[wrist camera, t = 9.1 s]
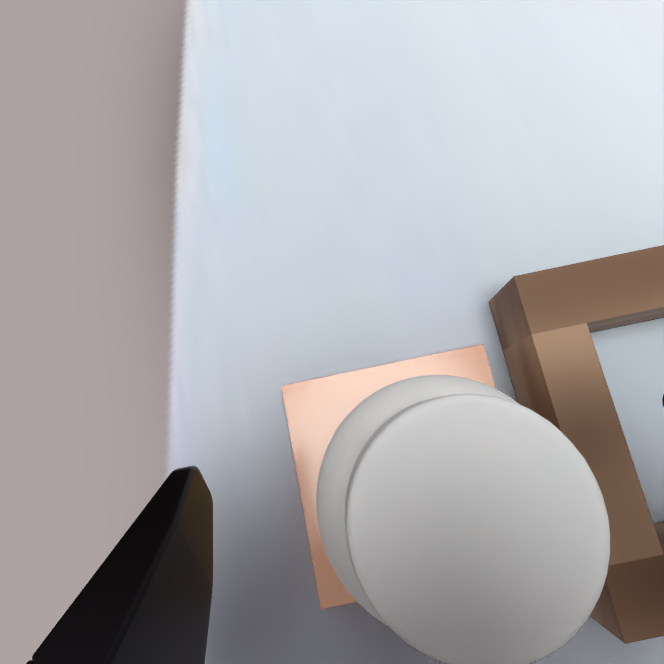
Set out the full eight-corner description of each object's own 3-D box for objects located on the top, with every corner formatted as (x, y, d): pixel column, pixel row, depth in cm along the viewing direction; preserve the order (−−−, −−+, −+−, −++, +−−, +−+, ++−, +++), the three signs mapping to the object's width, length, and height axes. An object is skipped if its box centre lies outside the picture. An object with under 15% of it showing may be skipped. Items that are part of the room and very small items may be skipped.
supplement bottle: (351, 573, 16) (339, 772, 6) (316, 416, 17) (264, 393, 8) (507, 536, 16) (721, 685, 6) (461, 381, 17) (586, 317, 8)
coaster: (535, 557, 16) (544, 564, 16) (322, 601, 16) (320, 609, 16) (477, 348, 18) (483, 343, 17) (284, 388, 18) (281, 385, 17)
